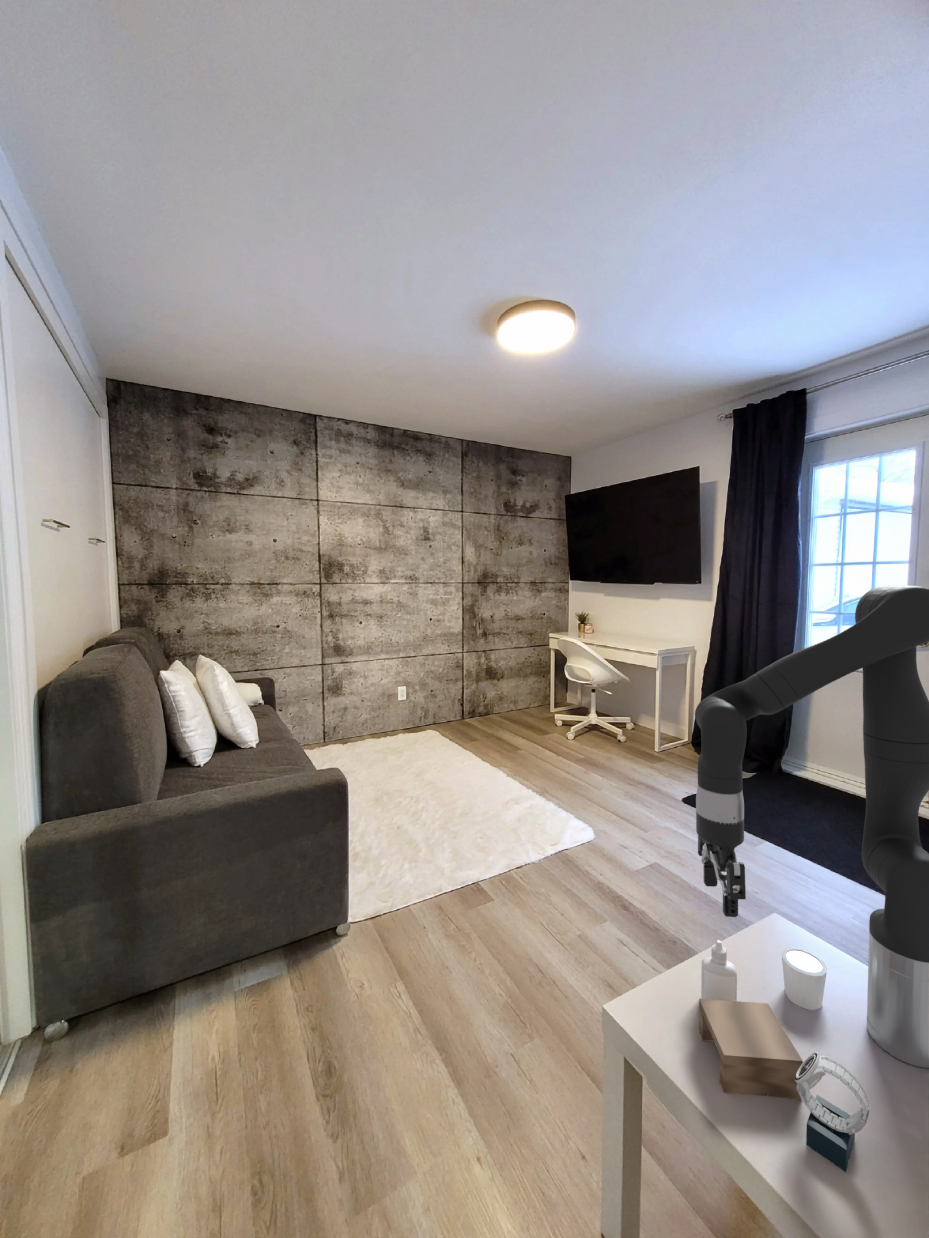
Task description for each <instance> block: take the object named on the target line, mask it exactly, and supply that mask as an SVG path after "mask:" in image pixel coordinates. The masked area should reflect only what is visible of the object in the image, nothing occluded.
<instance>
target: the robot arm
mask: <svg viewBox="0 0 929 1238" xmlns="http://www.w3.org/2000/svg"><path fill="white" fill-rule="evenodd" d="M854 620H855V621H854V622H855V624H853V625H852V626H850V627H849V628H847V629H845V630H843V631H841V632H839V633H838V634H836V635H834V636H831V637H830V638H828V639H825V640H823V641H821V642H817V643H816V644H813V645H810V646H808V647H805V648H802V649H799V650H797V651H795V652H792V653H791V654H788V655H786V656H784V657H781V658H780V659H777V660H776V661H774V662H773V663H771V664H769V665H767V666H765V667H764V668H762V669H760V670H758V671H757V672H755V673H754V674H752V675H750V676H749V677H747V678H746V679H745V680H742V681H739V682H737V683H734V684H731V685H729V686H727V687H723V688H722V689H720V690H717V691H714V692H713V693H712V694H709V695H708V696H706V697H705V698H703V699H702V700H701V701H700V702H699V703H698V704H697V705H696V708H695V711H694V718H695V722H696V724H697V725H698V727H699V729H700V736H701V737H700V738H701V739H700V741H701V744H700V746H701V747H700V748H701V750H700V751H701V752H700V754H699V755H698V760H697V787H696V795H695V810H696V811H695V815H696V818H695V822H696V823H695V825H696V826H695V827H696V828H695V829H696V830H695V831H696V835H698V836H697V854H698V856H699V857H701V860H700V861H701V863H702V865H703V883H704V885H705V886H706V887H713V888H714V887H717V886H718V882H720V884H721V885H720V886H721V890H722V913H723V915H724V916H725V917H729V918H737V917H738V916H739V900H746V898H747V897H746V894H747V893H746V890H747V889H746V867H745V863H744V862H741V861H740V862H739V861H738V858H737V855H736V852H735V849H736V848H737V847H738V846H741V845H742V844H743V843H744V842H745V802H744V794H743V761H744V757H745V756H744V755H745V750H746V745H747V737H748V735H747V733H748V731H747V729H748V728H747V722H746V721H749V720H750V719H753V718H755V717H757V716H760V715H763V716H764V715H765V716H771V715H774V714H777V713H779V712H781V711H783V710H784V709H786V708H789V707H790V706H792V705H793V704H795V703H798V702H799V701H800V700H802V699H804V698H805V697H808V696H809V695H811V694H812V693H813V694H814V693H815V692H816V691H818V690H820V689H822V688H824V687H825V686H828V685H830V684H831V683H834V682H835V681H837V680H840V679H842V678H844V677H845V676H847V675H850V674H852V673H854V672H856V671H859V670H861V669H862V707H863V709H862V712H863V714H862V716H863V717H862V720H863V721H862V731H863V732H862V734H863V735H862V736H863V737H862V738H863V741H862V742H863V758H864V784H865V785H864V786H865V816H864V826H863V834H862V845H861V860H862V864H863V868H864V869H865V871H866V873H867V874H868V876H869V877H870V878H871V880H872V881H873V882H874V883H875V884H876V885H877V886H878V887H879V888H880V889H881V890H882V891H883V892H884V908H878V909H875V910H874V911H872V912H871V913H870V916H869V922H868V923H869V924H868V925H869V927H868V930H869V931H868V961H867V963H868V966H867V967H868V968H867V995H866V996H867V1003H866V1004H867V1005H866V1030H867V1031H868V1034H869V1036H870V1037H871V1038H872V1039H873V1041H874V1042H875V1043H876V1045H878V1046H879V1047H880V1048H882V1049H883V1050H884V1051H886V1052H887V1053H888V1054H890V1055H891V1056H893V1057H895V1058H896V1059H898V1060H900V1061H902V1062H904V1063H907V1064H909V1065H911V1066H915V1067H920V1068H926V1069H927V1068H929V852H928V851H926V850H925V849H924V848H923V845H922V843H921V838H920V828H919V827H920V825H919V824H920V823H919V815H920V814H919V811H920V807H921V804H922V801H923V800H924V798H925V796H926V795H927V794H928V792H929V698H928V696H927V693H926V691H925V689H924V686H923V684H922V682H921V678H920V675H919V672H918V665H917V647H918V646H922V645H923V644H925V643H927V642H929V588H928V587H925V586H924V587H923V586H920V585H881V586H877V587H875V588H871V589H870V590H868V591H867V592H866V593H864V594H863V595H862V596H861V597H860V599H859V601H858V602H857V604H856V606H855V613H854ZM723 873H726V874H723Z"/></svg>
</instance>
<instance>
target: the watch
mask: <svg viewBox="0 0 929 1238" xmlns="http://www.w3.org/2000/svg"><path fill="white" fill-rule="evenodd" d="M826 1074H828V1075H831V1076H833V1077H834V1078H835V1079H837V1080H839V1081H840V1082H841V1083H842V1084H843V1085H844V1086H847V1088H848V1089H849V1090H850V1091H851V1093H853V1094H854V1097H855V1098H856V1099H857V1100H858V1102H859V1104H860V1106H861V1107H860V1109H859V1110H858V1111H857V1112H856V1113H854V1114H849V1113H848V1112H847V1111H845V1110H843V1109H841V1108H840V1107H838V1106H836V1105H835V1104H833V1103H832V1102H830V1101H828V1100H827V1099H825V1098H824V1097H822V1096H820V1095H818V1094H816V1096H814V1094H813V1093H812V1092H811V1091H810V1090H811V1089H813V1088H814V1087H815V1086H817V1084H818V1083H819V1082H820V1081H821V1080H822V1078H823V1077H825V1076H826ZM795 1081H796V1082H797V1091H798V1093H799V1095H800V1097H801V1099H800V1100H802V1102H803V1103H804V1105H805V1107H806V1108H807V1109H808V1110H809V1111H810V1113H809V1116H808V1118H807V1121H806V1128H805V1129H806V1134H805V1135H806V1136H805V1139H806V1140H805V1142H806V1143H805V1145H806V1146H807V1147H808V1148H810V1149H811V1150H813V1151H814V1152H816V1153H817V1154H818V1155H820V1156H822V1158H825V1159H826V1160H827V1161H829V1162H830V1163H832V1164H833V1165H835V1166H836V1167H837V1168H839V1169H840V1170H841V1171H843V1172H845V1173H847V1169H848V1166H849V1162H850V1159H851V1155H852V1150H853V1147H854V1144H855V1143H854V1142H855V1141H856V1139H855V1136H856V1135H855V1134H856V1133H858V1132H861V1130H863V1129H864V1127H865V1126H866V1124H867V1122H868V1119H869V1116H870V1111H871V1110H870V1102H869V1098H868V1095H867V1093H866V1091H865V1089H864V1087H863V1086H862V1084H861V1083H860V1082H859V1080H858V1079H857V1078H856V1077H855V1075H854V1074H853V1073H852V1072H851V1071H849V1070H848V1069H847V1068H846V1067H845V1066H844V1065H842V1064H841V1063H839V1062H838V1061H835V1060H833V1059H832V1058H830V1057H829V1056H828V1055H820V1054H819V1053H818V1052H814V1053H811V1054H810V1055H808V1057H807V1058H806V1059H805V1060H804V1061H803V1063H802V1065H801V1066H800V1067H799V1069H798V1071H797V1073H796V1075H795Z"/></svg>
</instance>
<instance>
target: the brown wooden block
mask: <svg viewBox="0 0 929 1238" xmlns="http://www.w3.org/2000/svg"><path fill="white" fill-rule="evenodd" d="M698 1004H699V1005H698V1006H699V1008H698V1011H699V1012H698V1025H699V1026H698V1032H699V1033H698V1034H699V1035H700V1038H701V1040H702V1041H704V1042H714V1045H715V1047H716V1049H717V1052H718V1054H719V1084H720V1087H721V1089H722V1092H723V1094H724V1093H725V1094H733V1095H734V1094H737V1095H746V1096H760V1097H768V1098H769V1097H771V1098H782V1099H793V1100H795V1099H796V1100H802V1099H801V1097H800V1095H799V1093H798V1091H797V1082H796V1081H795V1075H796V1073H797V1071H798V1069H799V1067H800V1066H801V1065H802V1063H803V1062H804V1061H803V1059H802V1057H801V1056H800V1054H799V1052H798V1051H797V1049H796V1047H795V1045H794V1044H793V1042H792V1040H791V1038H790V1037H789V1035H788V1034H787V1032H786V1030H785V1029H784V1027H783V1025H782V1024H781V1022H780V1020H779V1018H778V1017H777V1015H776V1014H775V1012H774V1011H773V1009H772V1008H771V1006H770V1004H769V1003H767V1002H751V1001H738V1000H737V1001H723V1000H708V999H702V998H699V1002H698Z"/></svg>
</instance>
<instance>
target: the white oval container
mask: <svg viewBox="0 0 929 1238" xmlns="http://www.w3.org/2000/svg"><path fill="white" fill-rule="evenodd" d="M781 962H782V963H781V965H782V973H783V983H784V992H785V995H786V996H787V998H788V999H789V1000H790V1001H791V1002H792V1003H794V1005H797V1006H799V1007H800V1008H803V1009H806V1010H809V1011H817V1010H820V1009H821V1008H822V1007H823V999H824V994H825V986H826V978H827V974H828V973H827V971H828V967H827V965H826V963H825V962H824V961H823V960H822V959H821V958H820V957H819V956H817V955H815V954H814V953H813V952H811V951H808V950H805V949H803V948H797V947H787V948H785V949H783V950H782V953H781Z"/></svg>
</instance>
